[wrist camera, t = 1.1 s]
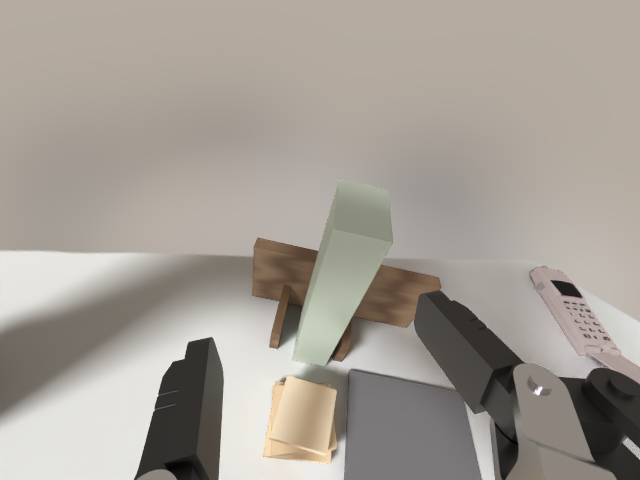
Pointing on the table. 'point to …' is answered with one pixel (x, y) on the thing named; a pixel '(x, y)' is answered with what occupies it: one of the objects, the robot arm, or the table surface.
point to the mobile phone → (580, 321)
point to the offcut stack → (301, 421)
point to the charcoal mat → (406, 431)
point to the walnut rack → (294, 278)
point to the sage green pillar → (343, 267)
